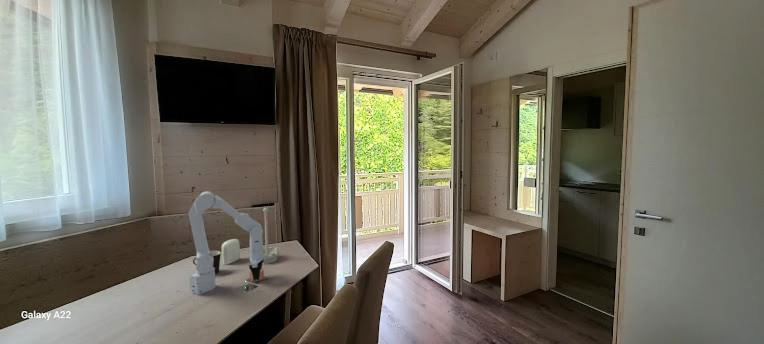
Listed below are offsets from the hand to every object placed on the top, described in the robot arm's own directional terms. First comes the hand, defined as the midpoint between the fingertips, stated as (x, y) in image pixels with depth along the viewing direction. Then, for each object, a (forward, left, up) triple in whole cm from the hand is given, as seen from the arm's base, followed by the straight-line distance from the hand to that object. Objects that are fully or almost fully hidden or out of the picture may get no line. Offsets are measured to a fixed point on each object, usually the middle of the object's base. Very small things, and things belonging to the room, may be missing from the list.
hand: (257, 276), depth 148 cm
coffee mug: (-6, +30, -3) cm, 31 cm away
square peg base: (0, 0, -2) cm, 2 cm away
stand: (-8, -3, -2) cm, 9 cm away
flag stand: (+21, +19, -3) cm, 29 cm away
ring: (0, 0, -1) cm, 1 cm away
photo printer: (+9, +34, -3) cm, 35 cm away
